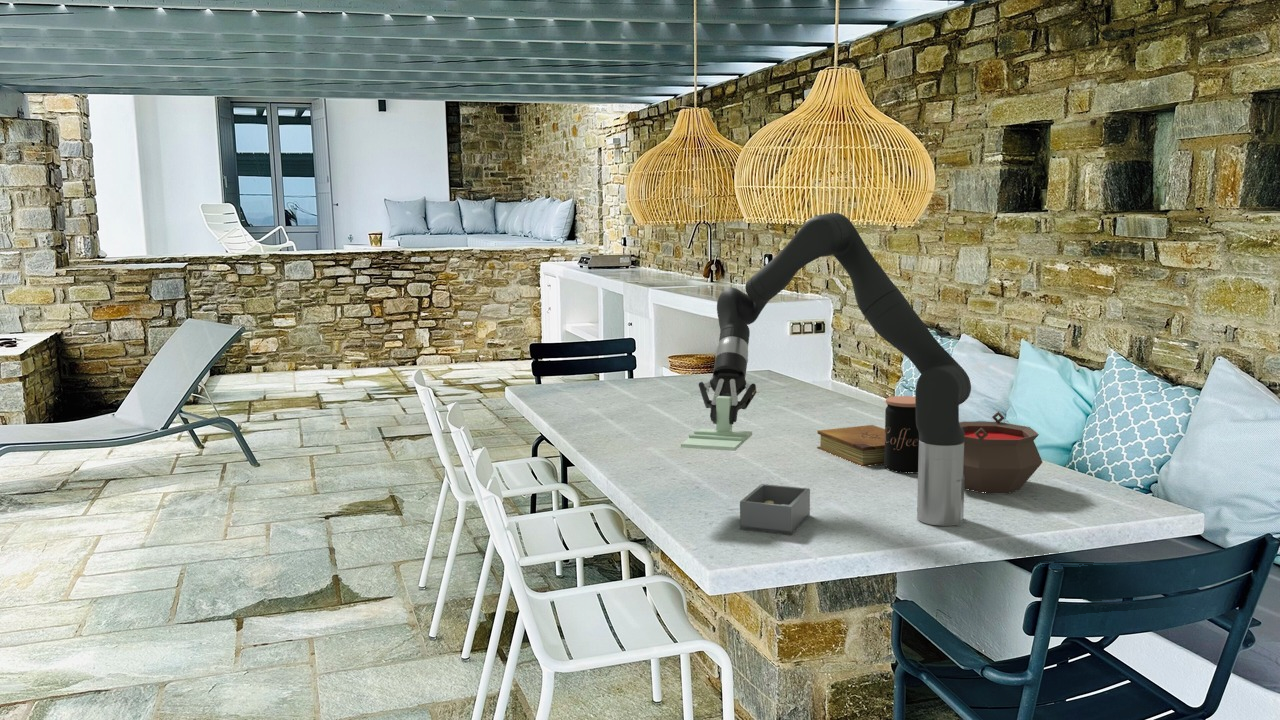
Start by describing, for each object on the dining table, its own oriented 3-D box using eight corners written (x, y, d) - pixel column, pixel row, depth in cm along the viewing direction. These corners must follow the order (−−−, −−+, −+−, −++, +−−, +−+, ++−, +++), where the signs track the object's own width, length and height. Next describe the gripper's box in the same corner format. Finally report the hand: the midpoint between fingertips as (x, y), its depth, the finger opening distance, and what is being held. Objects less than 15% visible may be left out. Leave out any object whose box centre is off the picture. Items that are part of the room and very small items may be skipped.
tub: (809, 515, 220) (810, 488, 220) (791, 535, 207) (791, 506, 206) (761, 510, 225) (761, 483, 224) (740, 529, 211) (739, 501, 210)
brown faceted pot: (1033, 505, 225) (1036, 433, 223) (925, 492, 237) (926, 424, 235) (1048, 480, 246) (1051, 414, 244) (948, 469, 258) (950, 406, 256)
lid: (752, 434, 229) (752, 396, 227) (735, 450, 214) (734, 410, 212) (701, 432, 233) (700, 394, 231) (680, 447, 218) (680, 407, 216)
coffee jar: (876, 469, 259) (877, 400, 257) (898, 461, 267) (899, 394, 264) (913, 476, 252) (914, 405, 249) (935, 468, 259) (936, 399, 257)
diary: (922, 462, 268) (923, 440, 268) (862, 469, 262) (862, 447, 261) (874, 443, 290) (874, 423, 289) (817, 449, 283) (817, 429, 283)
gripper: (699, 350, 235) (689, 411, 225) (759, 351, 232) (752, 414, 222) (703, 369, 241) (694, 430, 231) (762, 370, 237) (755, 432, 228)
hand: (722, 421), depth 226 cm, fingers closed on lid, 3 cm apart
